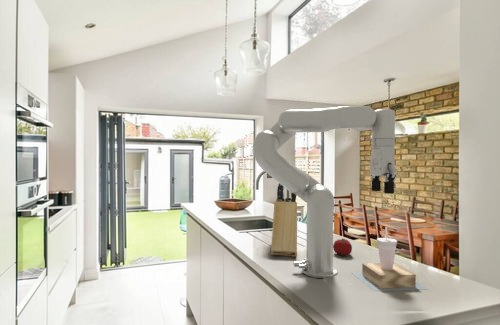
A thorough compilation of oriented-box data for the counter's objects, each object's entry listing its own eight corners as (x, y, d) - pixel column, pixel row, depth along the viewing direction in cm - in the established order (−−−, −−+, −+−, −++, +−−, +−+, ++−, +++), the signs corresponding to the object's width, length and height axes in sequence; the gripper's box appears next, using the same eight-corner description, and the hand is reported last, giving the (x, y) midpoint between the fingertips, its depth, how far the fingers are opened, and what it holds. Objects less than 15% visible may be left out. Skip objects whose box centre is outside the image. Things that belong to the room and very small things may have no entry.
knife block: (296, 239, 164) (296, 181, 164) (297, 259, 129) (298, 185, 129) (275, 238, 165) (275, 181, 166) (270, 257, 130) (271, 184, 131)
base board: (374, 292, 95) (374, 291, 95) (351, 274, 111) (351, 273, 111) (428, 291, 97) (428, 289, 97) (398, 273, 113) (398, 271, 113)
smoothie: (391, 265, 108) (391, 225, 108) (401, 271, 101) (401, 229, 101) (373, 265, 107) (373, 225, 108) (381, 271, 101) (382, 228, 101)
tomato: (351, 258, 131) (352, 241, 132) (332, 256, 134) (332, 239, 134) (352, 253, 139) (352, 237, 139) (333, 251, 142) (333, 235, 142)
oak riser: (380, 288, 97) (380, 275, 97) (362, 274, 109) (362, 263, 109) (415, 287, 99) (415, 274, 99) (394, 273, 111) (394, 262, 111)
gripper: (362, 145, 119) (362, 190, 118) (384, 142, 101) (383, 194, 101) (381, 146, 119) (381, 190, 119) (406, 142, 102) (405, 194, 101)
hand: (382, 192), depth 110 cm, fingers open, 9 cm apart
